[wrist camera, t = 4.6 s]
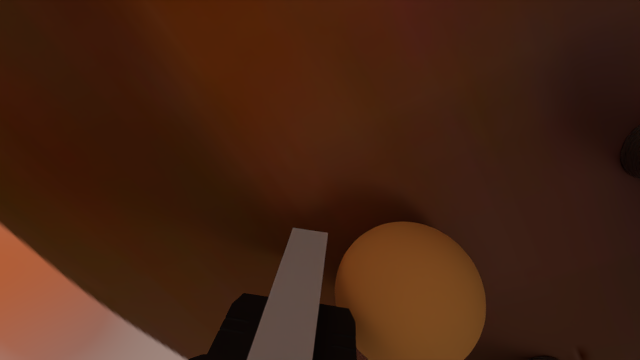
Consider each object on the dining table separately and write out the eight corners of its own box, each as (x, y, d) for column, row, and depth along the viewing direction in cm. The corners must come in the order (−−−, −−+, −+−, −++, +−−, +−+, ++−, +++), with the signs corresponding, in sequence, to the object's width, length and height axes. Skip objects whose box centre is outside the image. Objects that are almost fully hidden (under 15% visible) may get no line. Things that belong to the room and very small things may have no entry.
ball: (330, 197, 13) (446, 200, 14) (316, 299, 15) (419, 294, 16) (377, 287, 8) (552, 280, 9) (346, 426, 10) (493, 405, 11)
